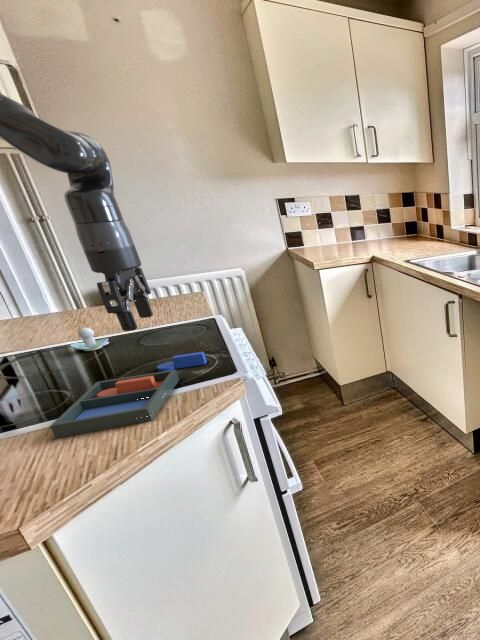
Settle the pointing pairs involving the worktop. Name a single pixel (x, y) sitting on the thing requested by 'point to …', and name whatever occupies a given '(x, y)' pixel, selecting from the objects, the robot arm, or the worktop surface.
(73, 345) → the pacifier
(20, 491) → the worktop surface
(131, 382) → the red long piece
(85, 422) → the sorting tray
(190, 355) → the blue spoon
